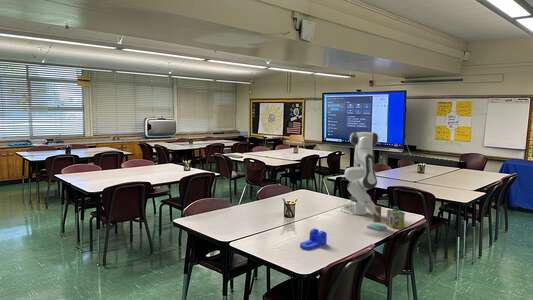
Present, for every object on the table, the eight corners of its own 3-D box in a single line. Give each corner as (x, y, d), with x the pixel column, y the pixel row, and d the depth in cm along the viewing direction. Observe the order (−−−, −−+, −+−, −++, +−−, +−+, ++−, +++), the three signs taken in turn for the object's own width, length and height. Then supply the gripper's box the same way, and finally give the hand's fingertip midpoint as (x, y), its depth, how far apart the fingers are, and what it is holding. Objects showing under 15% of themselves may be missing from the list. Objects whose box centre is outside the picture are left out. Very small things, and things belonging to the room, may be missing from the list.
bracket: (316, 240, 229) (316, 227, 228) (326, 244, 223) (326, 230, 222) (297, 247, 217) (297, 233, 217) (307, 251, 211) (307, 236, 210)
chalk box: (393, 228, 256) (394, 208, 255) (386, 225, 265) (386, 205, 264) (404, 227, 259) (405, 208, 257) (396, 224, 267) (397, 205, 266)
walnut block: (373, 222, 255) (374, 207, 254) (373, 220, 260) (373, 205, 259) (380, 222, 254) (381, 207, 253) (380, 220, 259) (380, 206, 258)
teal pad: (366, 227, 258) (366, 225, 257) (373, 225, 264) (373, 223, 264) (379, 230, 250) (379, 228, 250) (386, 228, 257) (386, 226, 257)
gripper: (368, 199, 247) (382, 214, 245) (367, 194, 267) (380, 207, 265) (361, 205, 248) (375, 220, 247) (361, 199, 268) (374, 213, 267)
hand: (378, 213), depth 256 cm, fingers closed on walnut block, 5 cm apart
